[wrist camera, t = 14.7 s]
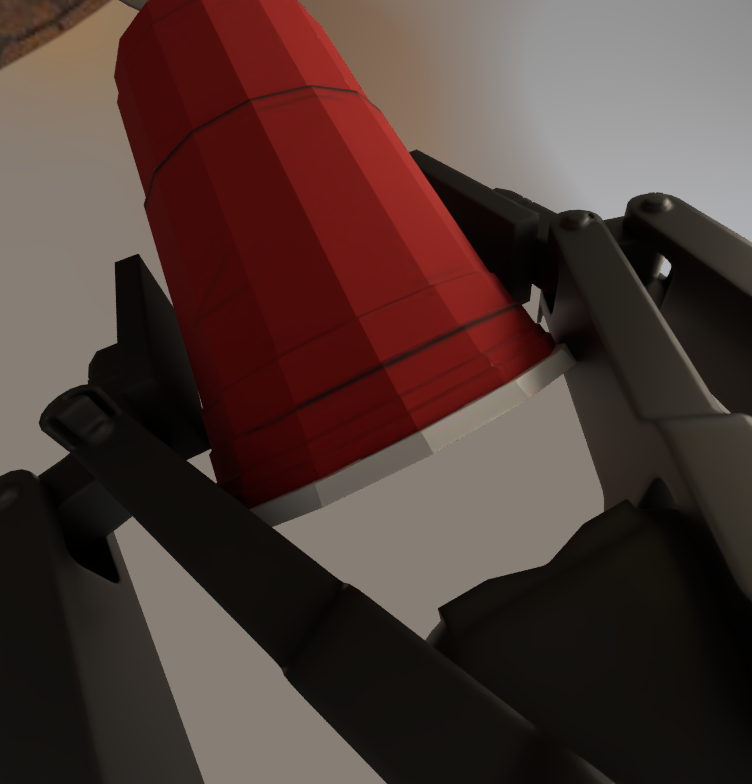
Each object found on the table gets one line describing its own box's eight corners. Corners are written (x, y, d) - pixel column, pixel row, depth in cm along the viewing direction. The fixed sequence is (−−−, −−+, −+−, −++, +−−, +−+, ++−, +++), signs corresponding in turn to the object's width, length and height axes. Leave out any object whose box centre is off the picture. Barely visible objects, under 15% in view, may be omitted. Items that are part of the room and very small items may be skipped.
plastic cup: (482, -143, 10) (684, 341, 10) (322, 159, 19) (432, 401, 20) (-199, -339, 5) (281, 639, 5) (43, 204, 14) (203, 527, 15)
